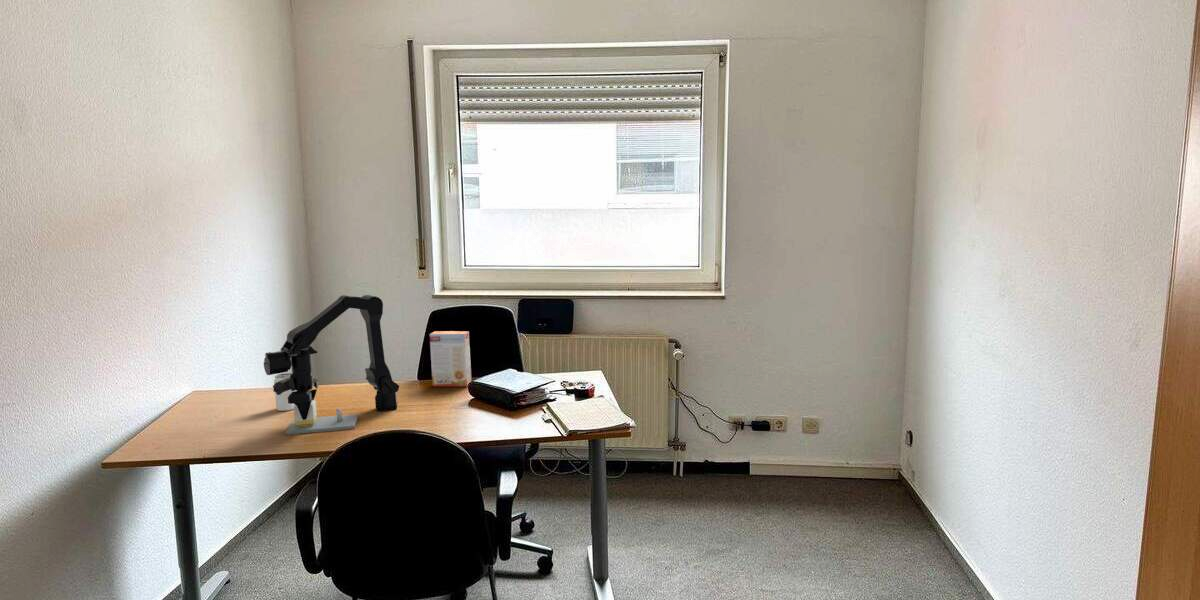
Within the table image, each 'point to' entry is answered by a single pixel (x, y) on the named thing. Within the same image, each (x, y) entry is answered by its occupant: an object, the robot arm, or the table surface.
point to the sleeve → (310, 418)
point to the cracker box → (450, 358)
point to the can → (283, 395)
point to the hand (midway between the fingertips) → (306, 416)
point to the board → (325, 424)
